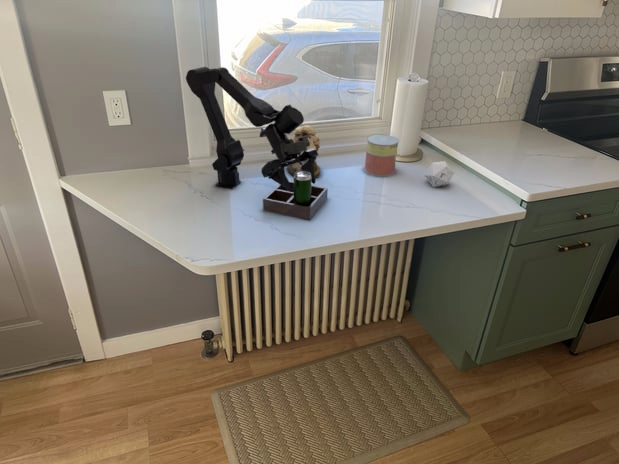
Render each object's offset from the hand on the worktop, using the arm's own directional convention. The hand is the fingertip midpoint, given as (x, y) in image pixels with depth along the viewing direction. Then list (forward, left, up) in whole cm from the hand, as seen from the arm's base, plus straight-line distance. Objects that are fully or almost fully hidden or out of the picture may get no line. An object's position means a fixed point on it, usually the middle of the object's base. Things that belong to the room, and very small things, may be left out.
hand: (303, 187), depth 140 cm
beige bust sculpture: (-12, +31, -9) cm, 34 cm away
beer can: (0, 0, -8) cm, 8 cm away
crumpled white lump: (+36, +39, -9) cm, 53 cm away
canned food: (+14, +43, -9) cm, 46 cm away
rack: (-4, +4, -9) cm, 10 cm away
